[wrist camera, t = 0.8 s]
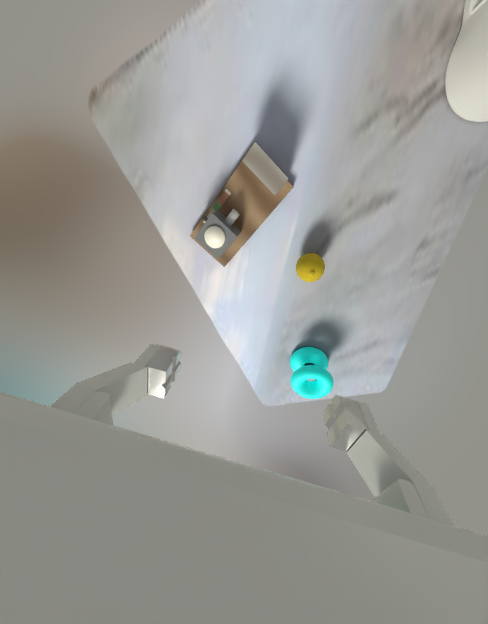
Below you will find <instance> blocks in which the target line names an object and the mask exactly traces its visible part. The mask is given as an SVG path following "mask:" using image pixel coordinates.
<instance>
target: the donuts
mask: <svg viewBox="0 0 488 624" xmlns="http://www.w3.org/2000/svg"><path fill="white" fill-rule="evenodd" d="M306 363H313V364H314V365H306V366H304V364H306ZM290 365H291V368H292V369H293V371H294V373H293V374H292V377H291V385H292V388H293V389H294V391H295V392H296V393H297V394H299V395H300V396H303V397H305V398H311V399H315V398H321V397H323V396H325V395H327V394H328V393H329V392H330V391H331V390H332V388H333V378H332V376H331V374H330V373H329V372H328V371H327V370H326V369H327V367H328V359H327V356H326V355H325V354H324V353H323V352H322V351H321V350H319V349H317V348H314V347H304V348H300V349H298V350H297V351H295V352H294V353H293V355H292V356H291V359H290ZM309 378H314V379H316V380H315V381H307V380H306V379H309Z"/></svg>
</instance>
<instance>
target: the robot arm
mask: <svg viewBox="0 0 488 624" xmlns="http://www.w3.org/2000/svg"><path fill="white" fill-rule="evenodd" d="M446 94H447V98H448V101H449V104H450V106H451V108H452V109H453V110H454V111H455V113H456V114H458V115H459V116H460V117H462V118H464V119H466V120H469V121H475V122H484V121H488V0H466V2H465V8H464V15H463V24H462V27H461V30H460V33H459V36H458V38H457V40H456V43H455V45H454V47H453V50H452V53H451V56H450V59H449V62H448V67H447V72H446ZM181 355H182V352H181V351H180V350H176V349H173V348H170V347H167V346H163V345H159V344H156V343H152V344H151V345H150V346H149V347H148V348H147V349H146V350H145V351H144V352H143V354H142V355H141V356H140V357H139V358H138V359H137V360H136V361H135V362H134V363H128V364H125V365H123V366H120V367H118V368H115V369H112V370H110V371H107V372H104V373H102V374H99V375H97V376H94V377H92V378H89V379H86V380H84V381H81V382H78V383H76V384H75V385H74V386H73V387H72V388H70V389H69V390H68V391H67V392H66V393H65V394H64V395H63V396H62V397H60V398H59V399H58V400H57V401H56V402H55V403H54V404H53V405H51V406H46V405H43V404H40V403H36V402H33V401H29V400H26V399H23V398H19V397H16V396H12V395H9V394H5V393H2V392H0V624H488V536H487V535H484V534H481V533H477V532H474V531H470V530H467V529H464V528H460V527H457V526H455V525H454V523H453V521H452V519H451V517H450V515H449V514H448V512H447V510H446V508H445V506H444V504H443V502H442V501H441V499H440V497H439V495H438V493H437V491H436V489H435V488H434V487H433V486H432V485H431V484H430V483H429V481H427V479H426V478H425V477H424V476H423V475H422V474H421V473H420V472H419V471H418V470H417V469H416V468H415V467H414V466H413V465H412V464H411V463H410V462H409V461H408V460H407V459H406V458H405V457H404V455H402V453H401V452H399V450H398V449H397V448H396V447H395V446H394V445H393V444H392V443H391V442H390V441H389V440H388V439H387V438H386V437H385V436H384V435H382V434H381V433H380V431H379V429H378V427H377V424H376V422H375V420H374V418H373V415H372V413H371V411H370V408H369V406H368V405H367V404H366V403H364V402H360V401H356V400H352V399H349V398H345V397H342V396H338V395H335V396H334V397H333V398H332V404H330V405H328V406H327V408H326V409H325V414H324V420H325V425H326V426H327V427H328V429H329V430H328V432H327V435H328V440H329V445H330V447H333V448H337V449H340V450H343V451H346V452H347V454H348V455H349V457H350V459H351V460H352V462H353V463H354V465H355V466H356V468H357V469H358V471H359V473H360V474H361V476H362V477H363V479H364V480H365V482H366V483H367V485H368V487H369V488H370V490H371V491H372V493H373V494H374V496H375V498H374V499H373V500H372V501H368V500H365V499H362V498H358V497H355V496H351V495H348V494H345V493H341V492H338V491H335V490H331V489H328V488H325V487H321V486H318V485H314V484H311V483H308V482H304V481H301V480H297V479H294V478H290V477H287V476H284V475H280V474H277V473H273V472H270V471H266V470H263V469H260V468H256V467H253V466H250V465H246V464H243V463H240V462H236V461H233V460H229V459H226V458H223V457H219V456H216V455H212V454H209V453H205V452H202V451H199V450H195V449H192V448H188V447H185V446H182V445H178V444H175V443H172V442H168V441H165V440H161V439H158V438H154V437H151V436H148V435H144V434H141V433H138V432H134V431H131V430H127V429H124V428H121V427H117V426H114V425H113V419H112V417H113V416H115V415H117V414H118V413H120V412H121V411H123V410H124V409H126V408H127V407H129V406H131V405H132V404H134V403H135V402H137V401H139V400H140V399H142V398H143V397H145V396H146V395H147V394H150V395H154V396H157V397H161V398H165V396H166V394H167V393H168V391H169V389H170V387H171V382H173V381H175V379H176V377H177V375H178V373H179V370H180V365H181V363H180V361H179V360H180V358H181Z"/></svg>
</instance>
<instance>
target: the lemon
mask: <svg viewBox="0 0 488 624" xmlns="http://www.w3.org/2000/svg"><path fill="white" fill-rule="evenodd" d="M324 269H325V264H324V261H323V259H322V258H321V257H320V256H319V255H317V254H315V253H307V254H305V255H303V256H301V257H300V258H299V260H298V262H297V265H296V271H297V274H298V276H299V277H300V278H301V279H302V280H304V281H307V282H314V281H316V280H318V279H319V278H320V277H321V276H322V275H323V273H324Z"/></svg>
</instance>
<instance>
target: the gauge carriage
mask: <svg viewBox="0 0 488 624" xmlns="http://www.w3.org/2000/svg"><path fill="white" fill-rule="evenodd" d="M239 215H240V214H239V213H238V212H237V211H236V210H235V209H233V210H232V211H231V212H230V214H229V215H228V216H227V218H226V217H225V216H224V215H223V214H222V213H221V212H220V211H218V212H214V213H212V214H211V215H210V217H209V218H207V217H206V216H203V217H202V219H203V220H204V221H205V224H204V225H203V227H202V228H201V229H200V231H199V232H198V234H197V235H196V236H195V239H196V240H197V241H198V242H199V243H200V244H201V245H203V246H204V247H205V248H206V249H207V250H208V251H209V252H210V253H211V254H213V255H214V256H215V257H216V258H217V259H219V258H220V257H221V256H222V255H223V254H224V253H225V251H226V250H227V249H228V248H229V247H230V245H231V244H232V243H233V242H234V241H235V239H236V238H237V237H238V236H239V235H240V233H241V231H240V230H239V229H238V228H237V227H235V226H234V225H233V223H234V222H235V220H236V219H237V218H238V216H239Z"/></svg>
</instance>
